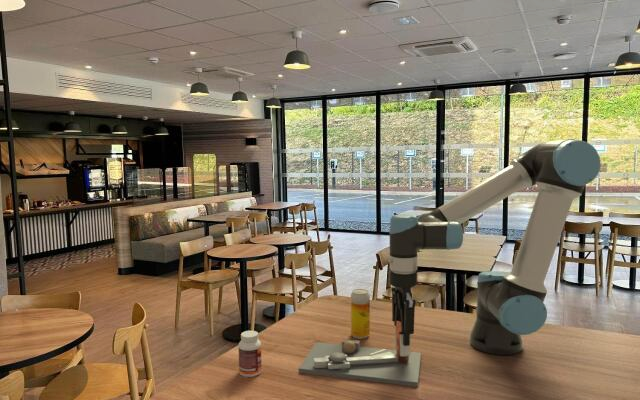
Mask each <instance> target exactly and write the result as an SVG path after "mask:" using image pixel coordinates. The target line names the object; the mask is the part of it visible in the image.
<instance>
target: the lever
mask: <svg viewBox="0 0 640 400" xmlns="http://www.w3.org/2000/svg"><path fill="white" fill-rule="evenodd" d="M395 327H396V355H381V356H364V357H348V358H347V355H345V360H346V362H341V363H329V361H331V360H330V356H325V358H314V368H328V369H340V368H350V365H355V364H371V363H387V362H401V363H406V362H408V361H409V356H400V334H399V332H401V319H399V320H397V321H396V326H395Z"/></svg>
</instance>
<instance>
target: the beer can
mask: <svg viewBox="0 0 640 400" xmlns="http://www.w3.org/2000/svg"><path fill="white" fill-rule="evenodd" d="M370 295H371V294H370V293H369V290H367V289H364V288H363V289H362V288H357V289H356V288H355V289H353V290H352V291H351V294H350V334H351V336H352V338H354V339H357V340H364V339H367V338H368V337H369V335H370V330H371V329H370V327H371V326H370V325H371V323H370V321H371V319H370V317H371V315H370V314H371V312H370V311H371V310H370V309H371V308H370V306H371V305H370V303H371V301H370V298H371V296H370Z"/></svg>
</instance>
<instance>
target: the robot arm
mask: <svg viewBox="0 0 640 400" xmlns="http://www.w3.org/2000/svg"><path fill="white" fill-rule="evenodd" d="M600 170H601V157H600V155H599V153H598V151H597V148H595V147H594V146H593V144H590V143H589V142H587V141H584V140H579V139H572V138H571V139H560V140H559V139H558V140H556V139H555V140H552V139H551V140H545V141H543V142H541V143H539V144H537V145H534V147H532V148H530V149H528V150H526V151H525V152H524V153H522V154H520V155H518V156H517V157H515V158H514V159H512V160H511V161H510V164H509V166H507V167H504V169H501V170H499V172H496V173H494V174H493V175H492V176H489V177H488V178H486V179H485V180H483V181H481V182H479V183H478V184H476V185H474V186H472V187H471V188H470V189H468V190H466V191H465V192H463V193H461V194H459V195H457V196H456V197H454V198H452V199H450V200H449V201H447V202H446V203H444V204H442V205H441V206H439V207H437V208H436V209H434V210H432V211H431V212H427V213H421V214H420V215H418V216H417V215H415V214H410V213H409V214H407V213H406V214H405V213H403V214H402V213H401V214H394V215H393V216H391V217H390V219H389V221H390V222H389V231H388V232H389V259H388V260H387V263H388V264H389V269H390V271H389V275H388V276H389V279H388V280H389V282H388V283H389V284H390V286H392V287H391V290H390V291H391V295H392V296H391V301H392V302H391V305H392V306H391V309H392V311H391V313H392V315H391V318H392V319H391V320H392V322H393V323H394V350H396V321H397V320H399V319H401V332H399V334H400V356H410V352H411V335H414V334H415V311H416V310H415V309H416V303H417V301H416V299H413V293H412V288H414V287H415V286H417V285H418V273H417V270H418V250H447V251H450V250H459V249H460V248H461V247H462V245H463V242H464V232H463V226H462V225H461V224H463V223H465V222H466V221H468V220H469V219H470V220H471V219H472V218H473V217H475V216H476V215H479V214H480V213H482V212H483V211H485V210H487V209H490V207H491V208H492V206H494V205H496V204H497V203H499V202H501V201H502V200H505V199H506V198H508V197H509V196H511V195H513V194H515V193H516V192H518V191H520V190H521V189H523V188H527V189H530V188H532V187H533V186H537V188H538V193H537V197H536V199H535V201H534V204H533V208H532V211H531V213H530V216H529V219H528V222H527V225H526V228H525V230H524V234H523V237H522V239H521V243H520V245H519V249H518V251H517V254H516V257H515V260H514V263H513V266H512V268H511V271H501V270H500V271H499V270H498V271H497V270H496V271H495V270H490V271H489V270H488V271H483V272H480V273H479V274H478V275H477V282H476V284H477V288H476V289H477V290H476V291H477V292H476V293H477V294H476V318H475V322H474V323H473V326H472V328H471V331H470V334H469V343H470V345H471V346H472V347H473V348H474V349H476V350H479V351H480V352H483V353H487V354H491V355H498V356H510V355H511V356H512V355H515V354H518V353H521V351H522V350H523V340H522V337H521V336H526V335H527V336H528V335H531V334H533V333H536V332H538V331H539V330H541V328H542V327H543V326H544V325H545V323H546V321H547V318H548V309H547V306H546V305H545V303H544V302H545V299H546V296H547V294H548V290H547V288H546V286H545V284H544V283H545V281H546V277H547V275H548V271H549V268H550V265H551V262H552V260H553V257H554V254H555V252H556V250H557V249H556V248H557V246H558V243H559V240H560V238H561V235H562V232H563V229H564V226H565V224H566V221H567V218H568V214H569V212H570V210H571V206H572V204H573V201H574V200H575V199H577V198H579V197H581V196H582V195H583V192H584V189H585V186H586V185H587V184H589V183H591V182H593V181H594V180H595V179H596V178H597V176H598V175H599V173H600Z"/></svg>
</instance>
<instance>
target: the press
mask: <svg viewBox="0 0 640 400" xmlns="http://www.w3.org/2000/svg"><path fill="white" fill-rule="evenodd" d="M360 342H361V341H360V340H356V339H355V340H354V339H346V338H345V339H344V338H343V339H342V342H341V344H338V343H337V344H336V343H330V342H329V343H327V342H318V341H316V342H315V343H314V344H313V346H312V347H311V349H310V350H309V352H308V354H307V355H306V356H305V358H304V360H303V361H302V363H301V364H300V366H299V368H298V373H300V374H306V375H307V374H308V375H314V376H315V375H316V376H324V377H325V376H326V377H333V378H343V379H349V380H357V381H366V382H373V383H383V384H390V385H400V386H407V387H415V388H418V386H419V379H420V378H419V377H420V369H421V360H422V359H421V358H422V353H421V352H416V351H410V356H409V361H408V362H406V363H401V362H387V363H371V364H355V365H350V368H340V369H328V368H314V358H325V356H330V360H331V361H329V363H341V362H346V360H345V355H347V358H348V357H364V356H381V355H396V350H395V349H387V348H374V347H367V346H365V347H364V346H361V343H360Z"/></svg>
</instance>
